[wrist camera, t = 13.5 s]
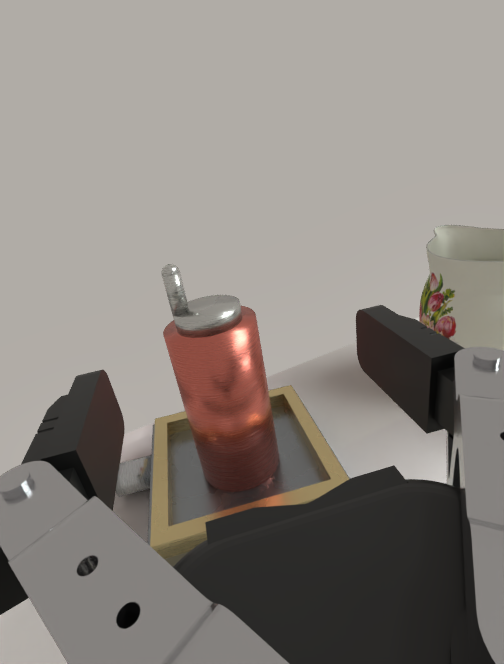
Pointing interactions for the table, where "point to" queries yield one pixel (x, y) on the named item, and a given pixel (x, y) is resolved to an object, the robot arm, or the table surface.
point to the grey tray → (211, 503)
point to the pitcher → (465, 286)
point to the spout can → (222, 386)
